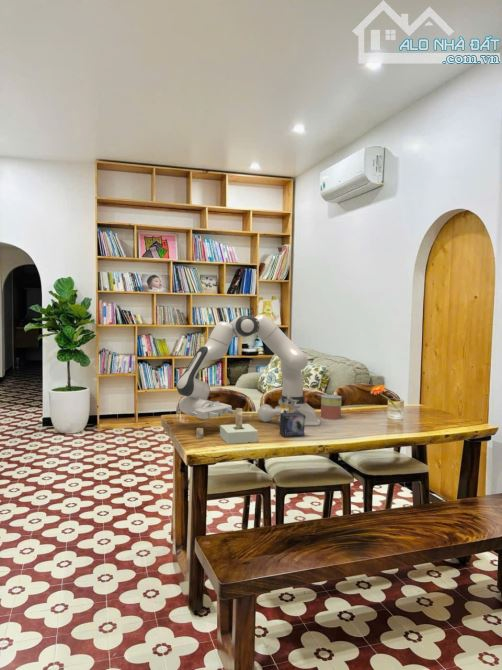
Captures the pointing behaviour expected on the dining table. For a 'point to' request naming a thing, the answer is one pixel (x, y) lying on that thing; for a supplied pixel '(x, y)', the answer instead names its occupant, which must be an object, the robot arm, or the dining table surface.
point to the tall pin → (238, 418)
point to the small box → (292, 424)
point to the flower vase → (277, 409)
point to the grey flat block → (238, 434)
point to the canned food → (331, 407)
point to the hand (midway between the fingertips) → (225, 414)
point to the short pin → (199, 433)
